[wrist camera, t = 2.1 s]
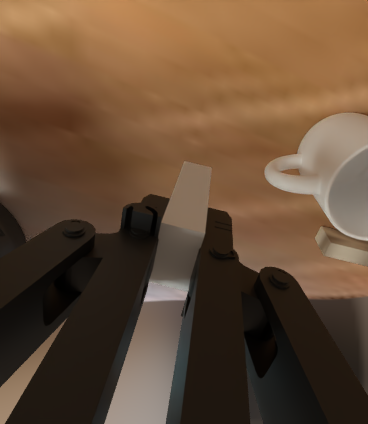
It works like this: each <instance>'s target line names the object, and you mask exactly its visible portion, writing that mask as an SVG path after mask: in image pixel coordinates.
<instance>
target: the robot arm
mask: <svg viewBox="0 0 368 424" xmlns="http://www.w3.org/2000/svg"><path fill="white" fill-rule="evenodd" d="M211 172H212V167H208V166H204V165H199V164H195V163H191V162H187V161H184V163H183V166H182V168H181V171H180V174H179V176H178V179H177V182H176V184H175V187H174V190H173V192H172V195H171V198H170V199H169V198H165V197H161V196H157V195H152V194H150V195H148V196H146V197H144V198H143V200H142V202H141V203H131V204H128V205H126V206H125V207H124V208H123V212H122V220H121V228H120V230H119V232H118V233H113V234H97V233H95V228H94V227H93V225H91V224H90V223H88V222H86V221H82V220H66V221H62V222H60V223H57V224H56V225H54V226H53V227H51V228H49V229H48V230H46V231H44V232H43V233H41V234H39V235H38V236H36V237H34V238H33V239H31V240H29V241H28V242H25V238H24V235H23V232H22V230H21V228H20V226H19V225H18V223H17V221H16V220H15V219H14V217H13V216H12V215H11V214H10V213H9V212H8V211H7V209H6V208H4V207H3V206H2V205H1V204H0V387H1V386H2V385H3V384H4V383H5V382H6V381H7V380H8V379H9V378H10V377H11V376H12V374H13V373H14V372H15V371H16V370H17V369H18V368H19V367H20V366H21V365H22V364H23V363H24V362H25V361H26V360H27V359H28V358H29V357H30V356H31V355H32V354H33V353H34V352H35V351H36V350H37V348H39V346H40V345H41V344H42V343H43V342H44V341H45V340H46V339H47V338H48V337H49V336H50V335H51V334H52V333H53V332H54V331H55V330H56V329H57V328H58V327H59V326H60V325H61V324H62V323H63V322H64V321H65V319H67V320H66V322H65V323H64V325H63V327H62V328H61V330H60V332H59V333H58V335H57V337H56V338H55V340H54V342H53V343H52V345H51V347H50V348H49V350H48V352H47V354H46V355H45V357H44V359H43V360H42V362H41V364H40V365H39V367H38V369H37V371H36V372H35V374H34V376H33V377H32V379H31V381H30V382H29V384H28V386H27V387H26V389H25V391H24V392H23V394H22V396H21V397H20V399H19V401H18V403H17V404H16V406H15V408H14V409H13V411H12V413H11V414H10V416H9V418H8V419H7V421H6V423H5V424H104V423H105V420H106V416H107V413H108V410H109V407H110V404H111V401H112V398H113V394H114V392H115V389H116V385H117V382H118V379H119V376H120V373H121V370H122V367H123V364H124V361H125V357H126V354H127V351H128V348H129V345H130V342H131V339H132V336H133V332H134V329H135V326H136V323H137V320H138V317H139V314H140V311H141V307H142V304H143V301H144V298H145V295H146V292H147V287H148V282H151V283H155V284H159V285H163V286H167V287H171V288H175V289H179V290H183V291H187V292H188V294H187V298H186V301H185V304H184V308H183V311H182V314H181V316H183V319H182V325H181V331H180V338H179V344H178V350H177V356H176V362H175V369H174V375H173V381H172V387H171V394H170V400H169V406H168V413H167V418H166V424H250V413H249V398H248V384H247V371H248V374H249V378H250V381H251V384H252V387H253V391H254V394H255V397H256V401H257V404H258V407H259V410H260V414H261V417H262V420H263V424H368V395H367V394H366V392H365V390H364V389H363V387H362V385H361V384H360V382H359V380H358V379H357V377H356V376H355V374H354V372H353V371H352V369H351V368H350V366H349V364H348V363H347V361H346V360H345V358H344V356H343V355H342V353H341V351H340V350H339V348H338V347H337V345H336V343H335V342H334V341H333V339H332V337H331V335H330V334H329V332H328V330H327V329H326V327H325V326H324V324H323V322H322V321H321V319H320V318H319V316H318V315H317V313H316V311H315V309H314V308H313V306H312V305H311V303H310V301H309V300H308V298H307V297H306V295H305V293H304V292H303V290H302V288H301V287H300V285H299V284H298V282H297V281H296V280H295V278H294V277H293V276H291V275H290V274H289V273H287V272H286V271H284V270H282V269H279V268H275V267H265V268H263V269H261V271H260V273H258V272H256V271H253V270H251V269H249V268H247V267H246V266H244V265H243V264H241V263H240V262H239V257H238V254H237V252H236V251H235V250H234V249H233V238H232V219H231V217H230V216H229V214H228V213H227V212H224V211H220V210H216V209H212V208H208V200H209V191H210V181H211ZM188 289H189V291H188ZM67 317H68V318H67ZM246 368H247V371H246Z"/></svg>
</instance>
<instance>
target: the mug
mask: <svg viewBox="0 0 368 424" xmlns="http://www.w3.org/2000/svg"><path fill="white" fill-rule="evenodd" d="M287 169H298V170H299V173H300V175H301V176H298V175H289V174H285V173H282V172H280V171H283V170H287ZM264 173H265V177H266V179H267V181H268V182H269V183H270V184H271V185H273V186H274V187H277V188H279V189H281V190H284V191H287V192H292V193H299V194H313V196H314V197H315V199H316V200H317V202H318V203H319V205H320V206H321V208H322V210H323V211H324V213H325V214H326V216H327V217H328V219H329V220H330V222H331V223H332V224H333V226H334V227H335V228H336V229H338V230H339V231H340V232H342V233H343V234H345V235H347V236H350V237H352V238H355V239H359V240H365V241H368V116H367V115H363V114H359V113H339V114H335V115H331V116H329V117H327V118H325V119H323V120H321V121H319V122H318V123H316V124H315V125H314V126H313V127H312V128H311V129H310V130H309V131H308V132H307V133H306V135H305V136H304V138H303V139H302V141H301V143H300V145H299V148H298V152H297V154H292V155H286V156H282V157H278V158H276V159H274V160H272V161H271V162H269V163H268V165H267V166H266V168H265V172H264Z"/></svg>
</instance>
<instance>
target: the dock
mask: <svg viewBox="0 0 368 424" xmlns="http://www.w3.org/2000/svg"><path fill="white" fill-rule="evenodd" d="M315 240H316V242H317V244H318V246H319V248H320V250H321V252H322V254H323V256H327V257H331V258H335V259H339V260H343V261H347V262H351V263H355V264H359V265H363V266H367V267H368V241H365V240H359V239H355V238H352V237H350V236H347V235H345V234H343V233H342V232H340V231H339V230H336V229H332V228H328V227H324V226H321V227H320V229H319V231H318V233H317V235H316V237H315Z"/></svg>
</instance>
